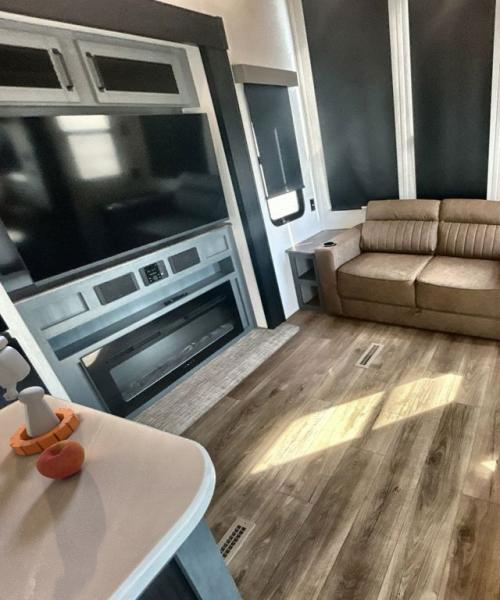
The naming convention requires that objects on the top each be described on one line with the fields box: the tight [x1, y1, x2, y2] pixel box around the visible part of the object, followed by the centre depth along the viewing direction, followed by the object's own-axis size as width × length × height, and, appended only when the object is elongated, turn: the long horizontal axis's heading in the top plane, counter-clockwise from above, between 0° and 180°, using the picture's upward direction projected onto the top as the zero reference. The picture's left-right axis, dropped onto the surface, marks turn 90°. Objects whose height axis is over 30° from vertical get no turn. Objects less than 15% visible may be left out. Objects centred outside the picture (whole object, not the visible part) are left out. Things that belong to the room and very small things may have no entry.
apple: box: [35, 439, 86, 480], centre depth 75 cm, size 7×7×8 cm
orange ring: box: [8, 407, 80, 456], centre depth 87 cm, size 12×12×3 cm
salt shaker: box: [17, 386, 61, 439], centre depth 85 cm, size 6×6×13 cm
